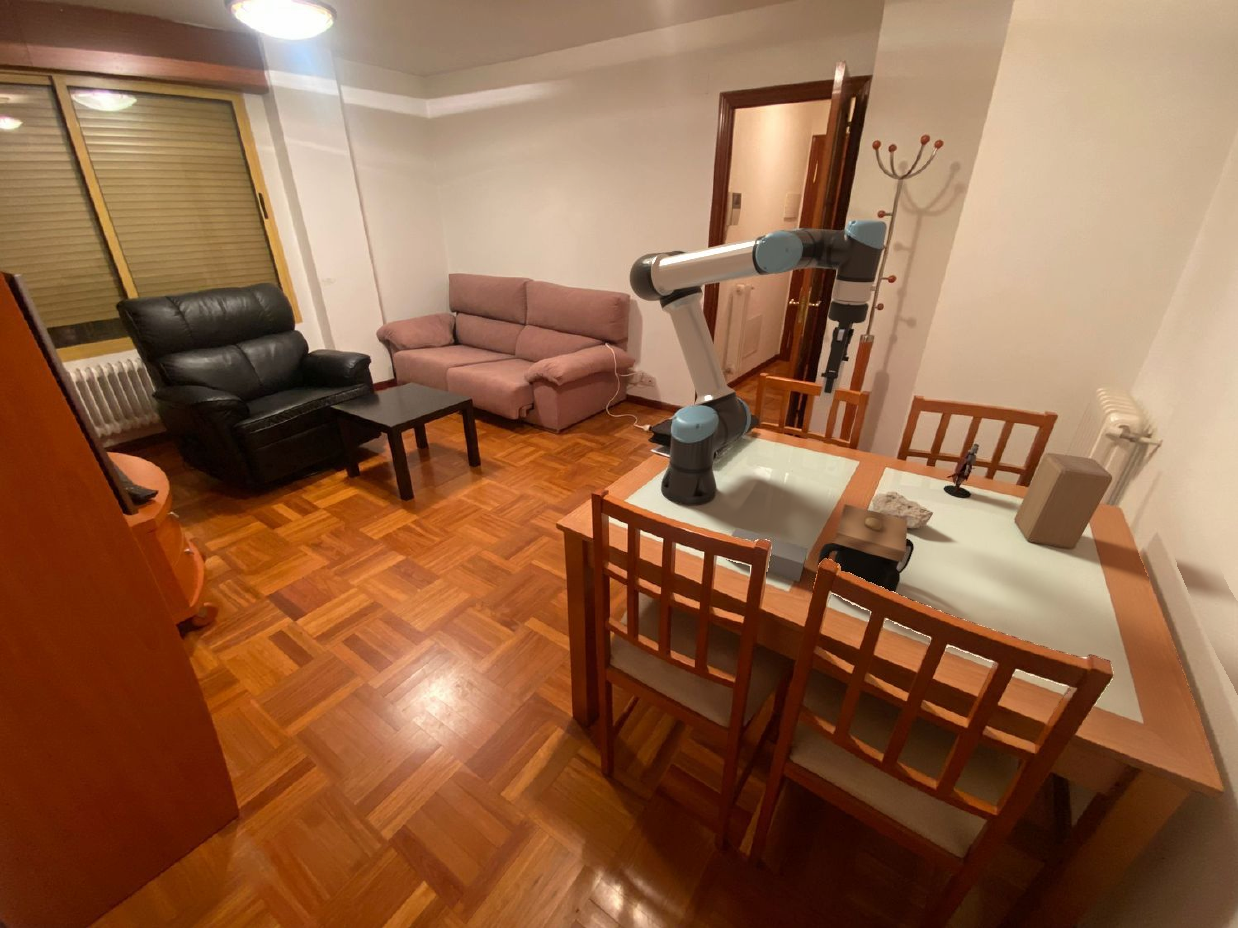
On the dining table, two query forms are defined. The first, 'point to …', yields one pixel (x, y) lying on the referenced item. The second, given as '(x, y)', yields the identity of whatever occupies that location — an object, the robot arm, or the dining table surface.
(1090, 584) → the dining table surface
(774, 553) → the riser
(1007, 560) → the dining table surface
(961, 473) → the figurine
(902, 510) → the stone
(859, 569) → the mug
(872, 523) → the lid
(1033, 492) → the wooden block
